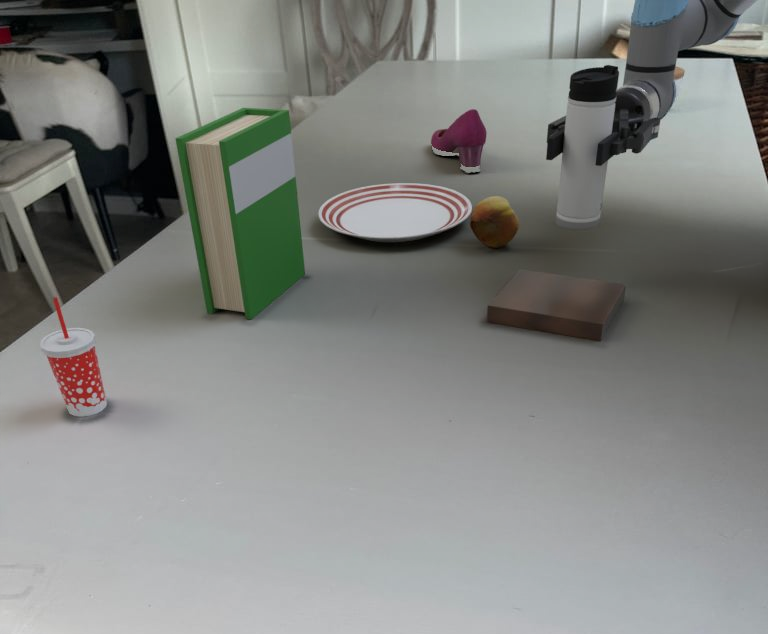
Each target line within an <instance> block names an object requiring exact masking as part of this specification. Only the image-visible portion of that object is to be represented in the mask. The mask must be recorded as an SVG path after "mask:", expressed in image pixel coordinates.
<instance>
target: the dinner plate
mask: <svg viewBox="0 0 768 634" xmlns="http://www.w3.org/2000/svg"><path fill="white" fill-rule="evenodd" d="M472 212H473V204H472V202H471V200H470V199H469V198H468V197H467V196H465V195H464V194H462V193H461V192H459V191H458V190H455V189H451V188H449V187H445V186H440V185H433V184H428V183H414V182H410V183H409V182H396V183H394V182H393V183H381V184H372V185H367V186H361V187H357V188H352V189H349V190H346V191H344V192H341V193H338V194H337V195H334V196H333V197H331V198H329V199H328V200H326V201H325V202H324V203H323V204H322V205H321V206H320V207H319V210H318V215H317V216H318V219H319V220H320V222H321V223H322V224H323V226H325V227H327V228H328V229H330V230H332V231H335V232H337V233H340V234H343V235H347V236H350V237H354V238H358V239H361V240H366V241H371V242H378V243H403V242H404V243H405V242H413V241H418V240H423V239H425V238H429V237H431V236H435V235H437V234H442V233H443V232H444V233H445V232H446V231H448V230H450V229H453V228H455V227H457V226H458V225H460V224H461V223H463V222H464V221H465V220H466V219H468V217H469V216H471V214H472Z"/></svg>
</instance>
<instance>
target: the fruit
mask: <svg viewBox="0 0 768 634" xmlns="http://www.w3.org/2000/svg"><path fill="white" fill-rule="evenodd" d="M469 226H470V229H471V231H472V233H473V234H474V236H475V238H476V239H477V240H478V241H479V242H480V243H482V244H484V245H486V246H487V247H489V248H490V249H499V248H501V247H504V246H506V245H508V244H509V243H510V242H511V241H512V240H513V239H514V238H515V237H516V235H517V233H518V230H519V227H520V220H519V218H518V216H517V215H516V213H515V211H514V210H513V209H512V208H511V203H510V202H509V200H508V199H506V198H505V197H503V196H498V195H493V196H489V197H486V198H484V199H482V200H480V201H479V202H478V203H477V204H476V205H475V206H474V208H473V209H472V211H471V213H470V219H469Z"/></svg>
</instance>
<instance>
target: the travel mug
mask: <svg viewBox="0 0 768 634" xmlns="http://www.w3.org/2000/svg"><path fill="white" fill-rule="evenodd" d="M569 77H570V79H569V87H568V88H569V91H568V96H567V104H566V113H565V116H566V122H565V132H564V142H563V152H562V153H561V161H560V162H561V163H560V173H559V184H558V192H557V193H558V194H557V202H556V203H557V204H556V214H555V223H556V225H557V226H558V227H560V228H562V229H565V230H570V231H588V230H589V231H590V230H592V229H595V228H597V227H598V226H599V225H600V223H601V215H602V214H601V212H602V207H603V200H604V194H605V193H604V192H605V185H606V177H607V170H608V163H609V160H608V161H606V162H605V163H604V164H603V165H601V166H597V165H595V164H596V156H597V148H598V143H599V142H601V141H602V140H604V139H605V138H606V137H608V136H609V135H611V134H612V126H613V119H614V111H615V101H616V93H617V92H616V90H617V89H618V84H619V77H620V71H619V66H618V65H617V66H616V65H611V64H606V65H604V66H597V67H589V68H584V69H580V70H577V71H575V72H572V74H571V75H570V76H569Z"/></svg>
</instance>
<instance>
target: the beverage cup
mask: <svg viewBox="0 0 768 634" xmlns="http://www.w3.org/2000/svg"><path fill="white" fill-rule="evenodd" d="M52 301H53V304H54V307H55V311H56V314H57V318H58V321H59V324H60V328H61V329H59V330H55V331H54V332H51V333H49V334H46V335H45V336H44V337H43V338H41V340H40V342H39V346H40V349H41V351H42V353H43V355H44V356H46V358H47V361H48V364H49V366H50V369H51V372H52V374H53V376H54V379H55V382H56V384H57V386H58V388H59V391H60V393H61V396H62V399H63V401H64V404H65V405H66V406H65V407H66V409H67V411H68V413H69V414H70V415H72V416H73V417H79V418H80V417H90V416H94V415H97V414H98V413H100V412H102V411H103V410H104V409H106V408H107V405H108V402H107V401H108V400H107V397H106V393H105V387H104V383H103V378H102V373H101V367H100V363H99V359H98V353H97V349H96V343H97V341H96V334H95V333H94V331H92V330H90V329H88V328H83V327H69V328H67V326H66V322H65V319H64V316H63V313H62V309H61V306H60V303H59V300H58V297H57V296H54V297H52Z"/></svg>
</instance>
